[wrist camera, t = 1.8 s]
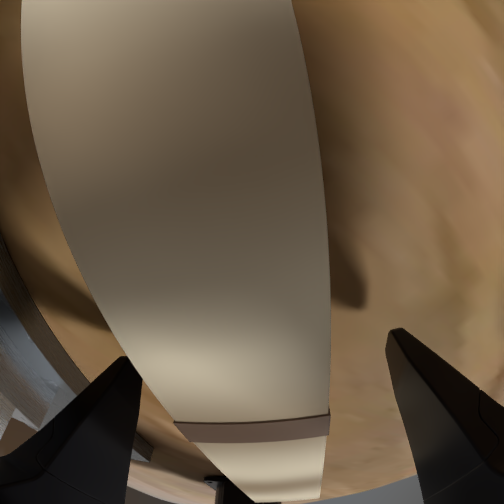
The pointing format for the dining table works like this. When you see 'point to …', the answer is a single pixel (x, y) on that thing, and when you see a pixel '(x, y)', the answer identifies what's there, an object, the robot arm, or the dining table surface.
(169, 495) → the dining table surface
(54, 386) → the fulcrum
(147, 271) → the beige long bar
